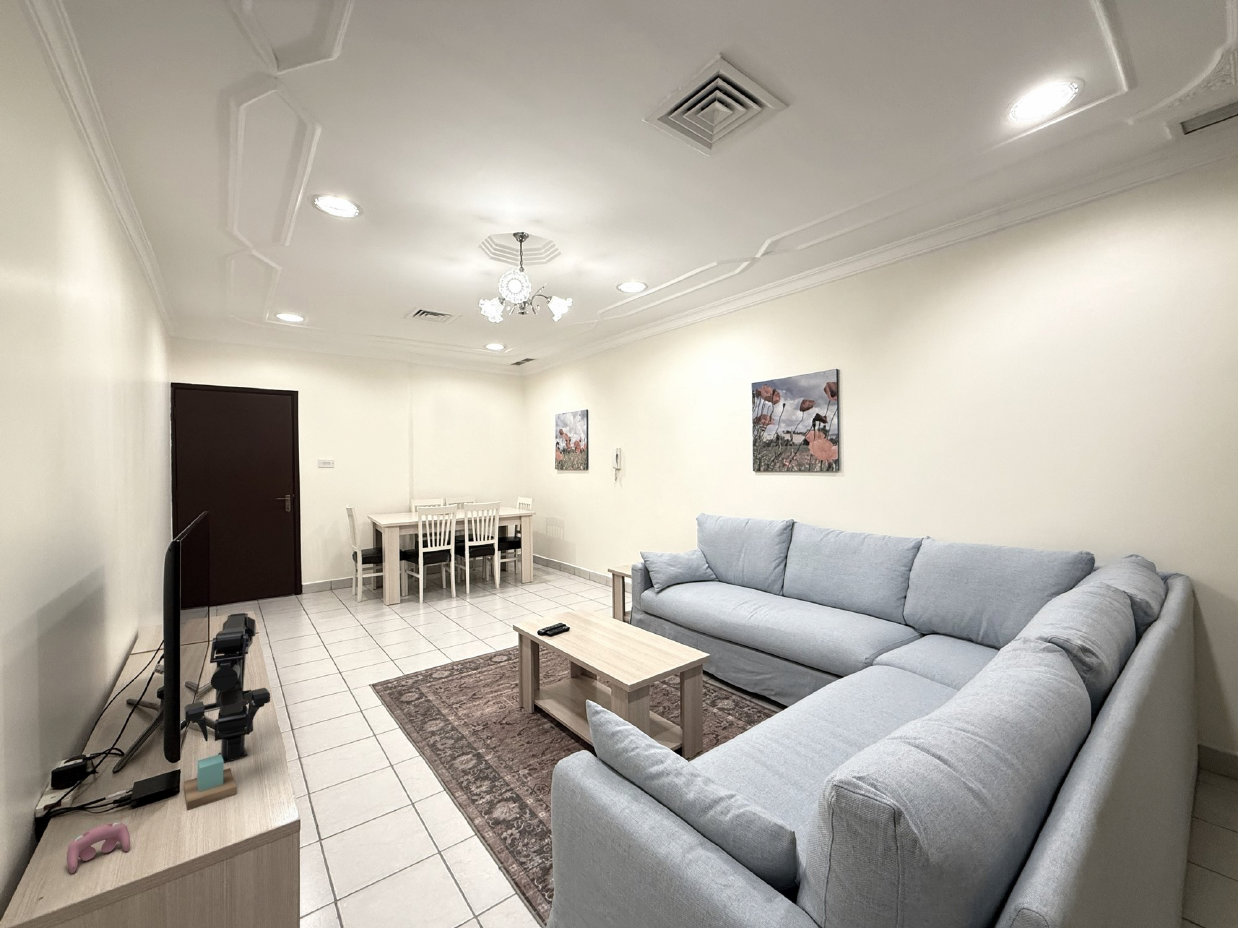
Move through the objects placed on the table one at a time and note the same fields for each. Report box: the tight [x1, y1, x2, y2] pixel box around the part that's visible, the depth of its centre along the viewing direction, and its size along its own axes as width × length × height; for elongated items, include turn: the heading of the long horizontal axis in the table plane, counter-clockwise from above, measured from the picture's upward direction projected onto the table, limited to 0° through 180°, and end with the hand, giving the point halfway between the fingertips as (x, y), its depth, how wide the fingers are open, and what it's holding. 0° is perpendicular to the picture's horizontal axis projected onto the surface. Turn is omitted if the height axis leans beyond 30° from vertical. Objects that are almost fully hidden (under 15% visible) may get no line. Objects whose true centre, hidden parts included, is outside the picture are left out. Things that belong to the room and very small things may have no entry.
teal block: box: [196, 754, 225, 792], centre depth 140 cm, size 5×5×6 cm
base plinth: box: [183, 767, 237, 811], centre depth 140 cm, size 12×10×2 cm
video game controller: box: [66, 822, 131, 874], centre depth 116 cm, size 10×5×7 cm, turn 141°
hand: (227, 735), depth 146 cm, fingers open, 9 cm apart
